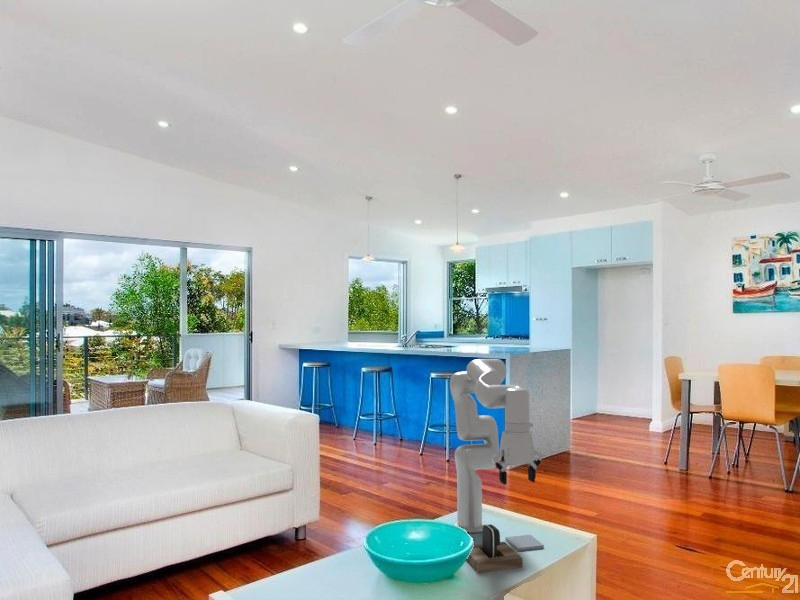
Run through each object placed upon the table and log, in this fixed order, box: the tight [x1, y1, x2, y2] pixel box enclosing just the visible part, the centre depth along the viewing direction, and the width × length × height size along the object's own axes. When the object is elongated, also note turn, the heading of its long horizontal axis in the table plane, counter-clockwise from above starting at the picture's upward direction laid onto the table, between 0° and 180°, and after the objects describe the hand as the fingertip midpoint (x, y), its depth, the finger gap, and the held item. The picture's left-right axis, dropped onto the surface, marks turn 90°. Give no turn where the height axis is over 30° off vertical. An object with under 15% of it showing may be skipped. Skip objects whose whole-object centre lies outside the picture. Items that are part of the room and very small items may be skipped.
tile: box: [505, 534, 545, 552], centre depth 203 cm, size 10×10×1 cm
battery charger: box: [481, 524, 501, 558], centre depth 190 cm, size 7×4×11 cm, turn 17°
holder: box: [466, 541, 523, 573], centre depth 189 cm, size 14×16×3 cm
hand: (517, 482), depth 179 cm, fingers open, 9 cm apart
